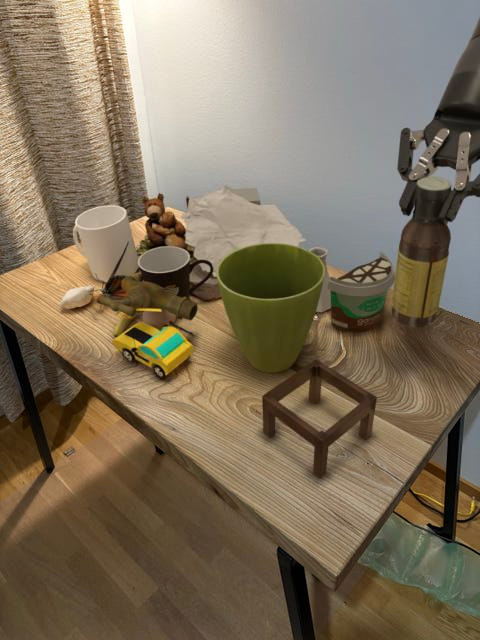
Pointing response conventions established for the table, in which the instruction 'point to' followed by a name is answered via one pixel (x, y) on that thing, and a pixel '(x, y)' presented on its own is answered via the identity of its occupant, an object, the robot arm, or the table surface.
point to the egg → (158, 318)
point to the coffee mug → (170, 269)
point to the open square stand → (315, 375)
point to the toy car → (154, 346)
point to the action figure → (149, 299)
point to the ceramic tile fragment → (204, 284)
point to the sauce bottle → (422, 257)
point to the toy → (248, 194)
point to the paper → (233, 226)
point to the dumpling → (77, 297)
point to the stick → (181, 328)
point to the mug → (106, 241)
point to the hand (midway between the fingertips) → (423, 217)
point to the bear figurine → (162, 229)
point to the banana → (122, 325)
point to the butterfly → (114, 283)
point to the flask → (325, 293)
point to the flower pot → (271, 300)
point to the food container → (361, 295)
